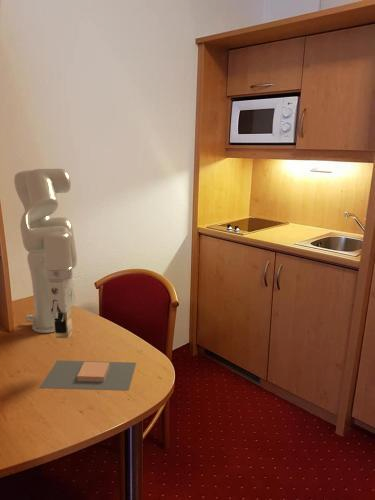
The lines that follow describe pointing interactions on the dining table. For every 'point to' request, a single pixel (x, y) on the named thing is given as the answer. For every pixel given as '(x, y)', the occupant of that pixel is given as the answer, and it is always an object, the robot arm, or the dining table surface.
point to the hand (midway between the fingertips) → (63, 328)
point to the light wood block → (68, 325)
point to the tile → (93, 371)
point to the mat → (66, 378)
